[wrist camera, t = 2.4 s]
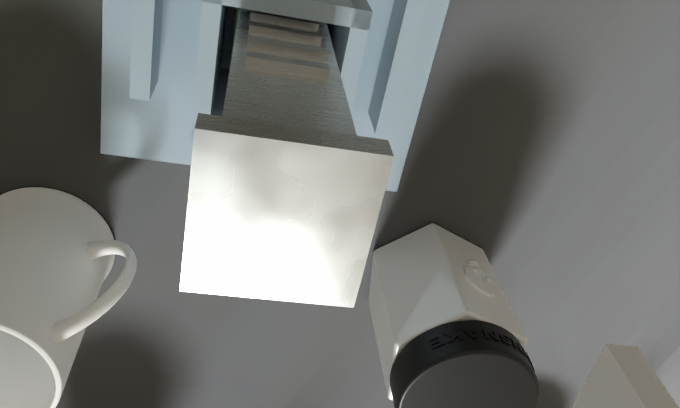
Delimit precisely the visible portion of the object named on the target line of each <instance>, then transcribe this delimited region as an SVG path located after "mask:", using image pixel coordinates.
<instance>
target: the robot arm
mask: <svg viewBox="0 0 680 408" xmlns="http://www.w3.org/2000/svg"><path fill="white" fill-rule="evenodd" d="M572 408H679V407H678V406H677V404H676V403H675V401H674V400H673V398H672V397H671V396H670V394H669V393H668V391H667V390H666V388H665V387H664V385H663V384H662V382H661V381H660V379H659V378H658V376H657V375H656V374H655V372H654V371H653V369H652V368H651V366H650V365H649V363H648V362H647V360H646V359H645V357H644V356H643V354H642V353H641V351H640V350H639V349H638V347H633V346H623V345H613V344H605V346H604V348H603V350H602V352H601V354H600V356H599V358H598V359H597V361H596V363H595V365H594V367H593V369H592V371H591V372H590V374H589V376H588V378H587V380H586V382H585V384H584V386H583V387H582V389H581V391H580V393H579V395H578V397H577V399H576V400H575V402H574V404H573V406H572Z"/></svg>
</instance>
